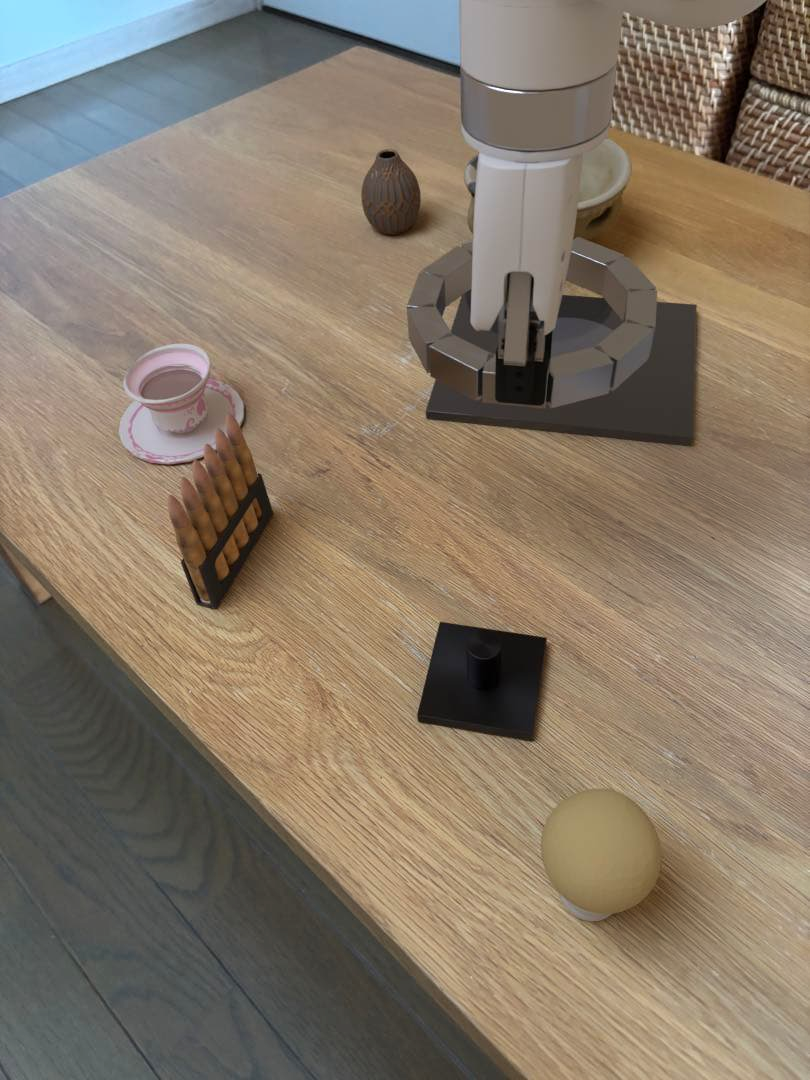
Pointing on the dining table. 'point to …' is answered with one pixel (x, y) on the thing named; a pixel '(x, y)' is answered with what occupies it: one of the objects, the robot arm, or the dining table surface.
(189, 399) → the teacup
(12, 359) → the dining table surface
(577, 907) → the light bulb
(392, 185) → the vase
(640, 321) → the steel ring
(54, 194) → the dining table surface
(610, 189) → the bowl
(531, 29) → the robot arm
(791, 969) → the dining table surface
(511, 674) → the ring stand
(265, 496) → the ammunition clip
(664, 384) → the hob plate
